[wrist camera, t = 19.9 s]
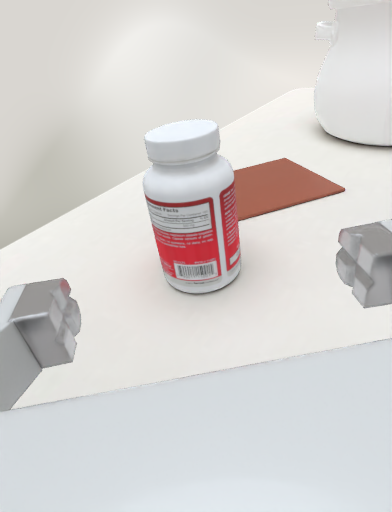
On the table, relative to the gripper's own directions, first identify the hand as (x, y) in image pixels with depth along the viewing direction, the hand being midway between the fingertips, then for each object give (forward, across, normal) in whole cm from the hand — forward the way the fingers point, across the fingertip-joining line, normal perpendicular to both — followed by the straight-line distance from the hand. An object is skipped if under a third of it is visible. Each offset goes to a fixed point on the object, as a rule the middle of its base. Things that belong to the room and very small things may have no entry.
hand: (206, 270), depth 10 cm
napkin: (+28, -9, +10) cm, 31 cm away
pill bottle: (+14, -1, +10) cm, 17 cm away
